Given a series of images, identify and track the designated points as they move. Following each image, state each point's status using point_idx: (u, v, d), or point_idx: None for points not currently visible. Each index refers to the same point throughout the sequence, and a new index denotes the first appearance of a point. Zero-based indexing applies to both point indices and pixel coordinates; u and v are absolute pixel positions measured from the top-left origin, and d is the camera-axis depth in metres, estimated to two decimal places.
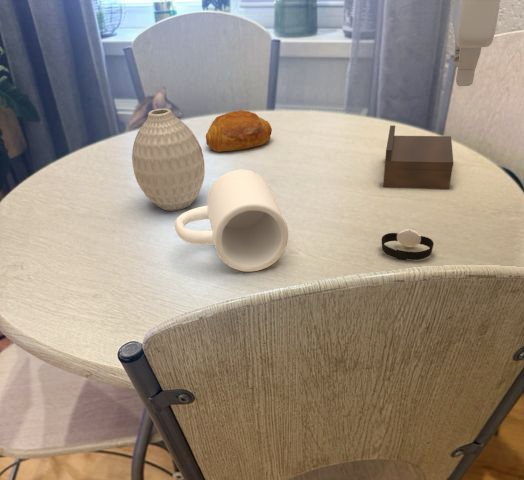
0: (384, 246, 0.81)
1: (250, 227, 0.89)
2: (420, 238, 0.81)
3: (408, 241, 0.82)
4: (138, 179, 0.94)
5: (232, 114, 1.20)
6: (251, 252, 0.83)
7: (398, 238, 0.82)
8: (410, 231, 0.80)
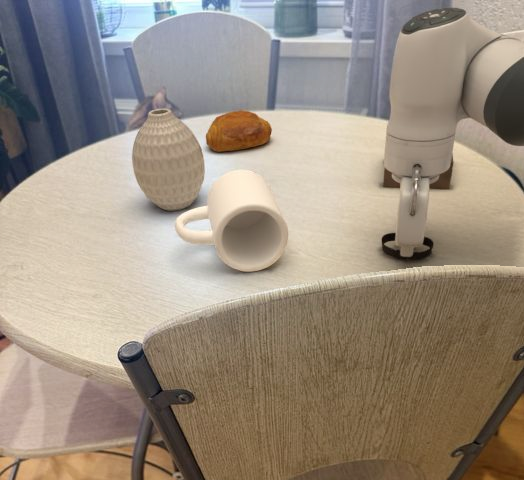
0: (384, 246, 0.81)
1: (250, 227, 0.89)
2: None
3: None
4: (138, 179, 0.94)
5: (232, 114, 1.20)
6: (251, 252, 0.83)
7: None
8: None
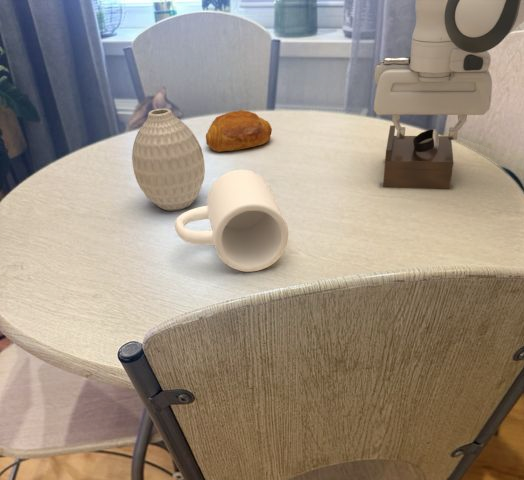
0: (422, 134, 1.03)
1: (250, 227, 0.89)
2: (433, 140, 0.98)
3: None
4: (138, 179, 0.94)
5: (232, 114, 1.20)
6: (251, 252, 0.83)
7: None
8: (433, 131, 0.99)
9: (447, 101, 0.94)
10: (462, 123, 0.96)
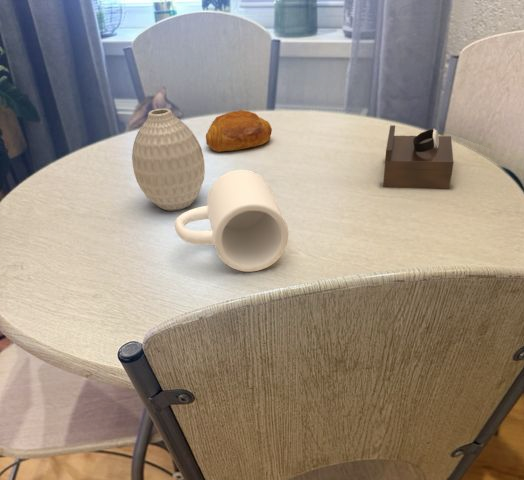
0: (422, 134, 1.03)
1: (250, 226, 0.89)
2: (433, 140, 0.98)
3: None
4: (138, 179, 0.94)
5: (232, 114, 1.20)
6: (251, 252, 0.83)
7: None
8: (433, 131, 0.99)
9: None
10: None
